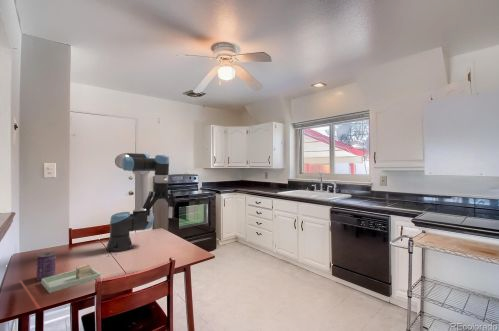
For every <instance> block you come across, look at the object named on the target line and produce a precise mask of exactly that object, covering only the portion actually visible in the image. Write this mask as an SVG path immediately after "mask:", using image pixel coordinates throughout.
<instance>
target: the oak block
mask: <svg viewBox="0 0 499 331" xmlns="http://www.w3.org/2000/svg"><path fill="white" fill-rule="evenodd" d="M92 268H93V267H92V266H91V265H89V264H88V263H87V264H83V265H80V266H77V267H75V270H76V278H77V279H81V278H84V277H88V276H91V269H92Z"/></svg>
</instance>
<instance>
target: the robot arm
mask: <svg viewBox="0 0 499 331" xmlns="http://www.w3.org/2000/svg"><path fill="white" fill-rule="evenodd" d="M114 165H115V166H116V167H117V168H119V169H122V170H123V171H128V172H132V173H133V174H134V204H135V205H134V209H133V210H132V213H131V212H130V211H122V212H118V213H117V212H116V213H114V214H112V215H111V217H110V222H109V224H110V230H109V238H108V242H107V244H106V251H108V252H113V253H114V252H115V253H116V252H118V253H119V252H124V251H127V250H130V249H132V248H133V243H132V240H131V237H130V233H131V232H136V231H145V230H149V229H151V228H152V226H153V225H154V220H155V219H154V217H155V215H154V213H153V212H152V207H153V206H155V203H156V202H157V201H158V200H162V199H163V200H165V202H167V204H168V205H169V206H168V214H167V215H168V217H167V218H168V219H172V218H173V212H174V208H175V206H177V201H176V199H175V197H174V193H173V190H171V189H169V174H170V173H169V171H170V169H169V168H170V157H169V155H166V154H165V155H164V154H163V155H161V154H156V155H155V157H154V158H153V157H151V154H147V153H138V152H137V153H136V152H135V153H134V152H125V153H121V154H118V155H117V156H116V157H115V159H114ZM151 172H154V178H153V180H154V183H153V191H149V174H150V173H151ZM131 247H132V248H131Z"/></svg>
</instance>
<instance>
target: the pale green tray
mask: <svg viewBox="0 0 499 331" xmlns="http://www.w3.org/2000/svg"><path fill="white" fill-rule="evenodd" d="M98 277H100V278H101V273H100V272H99V271H97V270H96V269H95V268H93V267H92V269H91V276H88V277H84V278H81V279H77V278H76V269H74V270H71V271H66V272H63V273H59V274H55V275H54V276H50V277H46V278H43V279H42V280H41V281H40V282H41V285H42V287H44V288H45V290H46V291H47V292H48V294H52V293H54V292H58V291H61V290H65V289H68V288H71V287H74V286H78V285H82V284H85V283H89V282H91V281H95V279H96V278H98ZM96 280H97V279H96Z"/></svg>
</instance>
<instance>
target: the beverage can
mask: <svg viewBox="0 0 499 331" xmlns="http://www.w3.org/2000/svg"><path fill="white" fill-rule="evenodd" d="M56 260H57V257H56V255H55V252H54V251H51V252H50V251H49V252H42V253H40V254H39V255H38V257H37V259H36V281H38V282H41V280H42V279H43V278H46V277H50V276H54V275H56V265H57V264H56Z"/></svg>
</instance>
